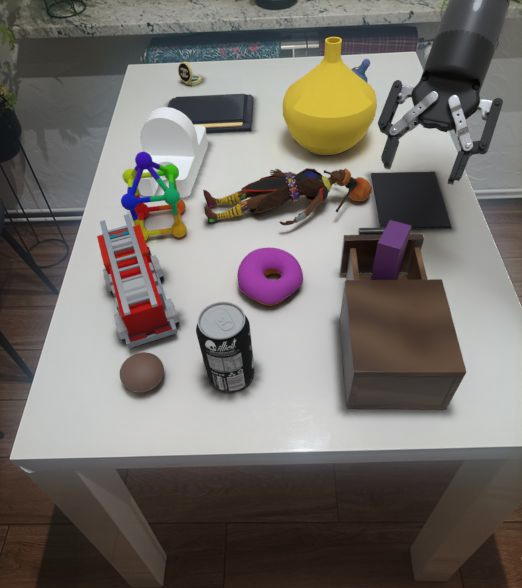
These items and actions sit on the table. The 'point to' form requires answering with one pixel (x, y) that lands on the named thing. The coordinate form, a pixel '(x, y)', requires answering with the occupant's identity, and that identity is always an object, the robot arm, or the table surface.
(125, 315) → the toy fire truck
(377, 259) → the purple rectangular block
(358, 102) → the vase
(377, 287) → the cabinet
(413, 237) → the drawer
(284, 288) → the donut
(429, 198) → the mat
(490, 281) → the table surface
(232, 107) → the wallet
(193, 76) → the eyeshadow
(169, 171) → the model
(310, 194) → the figurine
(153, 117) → the bracket
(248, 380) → the beverage can
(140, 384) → the egg
